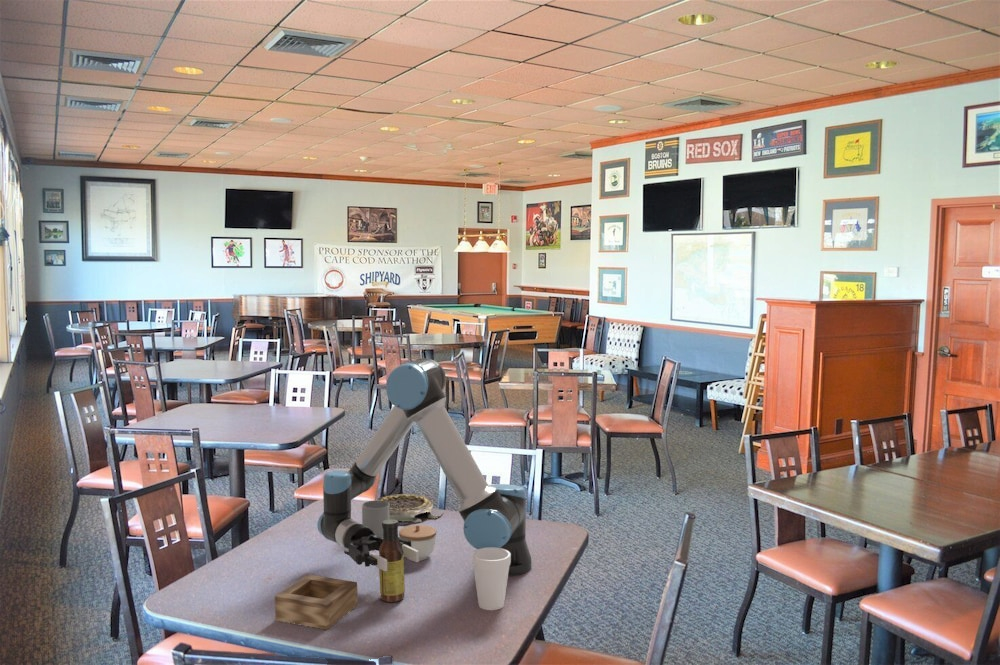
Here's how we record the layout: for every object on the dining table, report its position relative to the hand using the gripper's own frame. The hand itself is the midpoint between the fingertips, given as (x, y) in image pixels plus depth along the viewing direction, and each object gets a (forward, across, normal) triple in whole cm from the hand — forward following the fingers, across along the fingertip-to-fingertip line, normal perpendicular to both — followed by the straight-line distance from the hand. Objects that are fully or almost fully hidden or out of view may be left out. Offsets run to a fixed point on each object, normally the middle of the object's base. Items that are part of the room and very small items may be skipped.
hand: (402, 561), depth 193 cm
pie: (-61, -41, -12) cm, 75 cm away
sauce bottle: (-5, 0, -11) cm, 12 cm away
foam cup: (+14, -17, -11) cm, 25 cm away
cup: (-47, -22, -11) cm, 53 cm away
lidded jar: (-24, -21, -11) cm, 34 cm away
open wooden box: (-9, +19, -11) cm, 23 cm away
